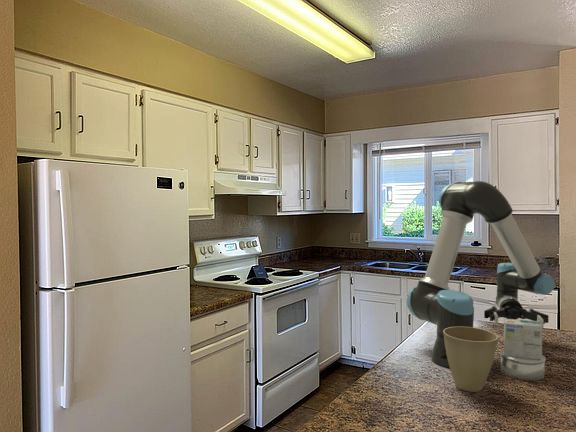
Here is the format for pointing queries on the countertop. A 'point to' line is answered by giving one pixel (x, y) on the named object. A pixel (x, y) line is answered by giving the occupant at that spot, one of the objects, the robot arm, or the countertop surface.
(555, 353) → the countertop surface
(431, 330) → the countertop surface
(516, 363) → the cookie tin
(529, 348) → the light bulb box
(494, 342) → the plant pot
